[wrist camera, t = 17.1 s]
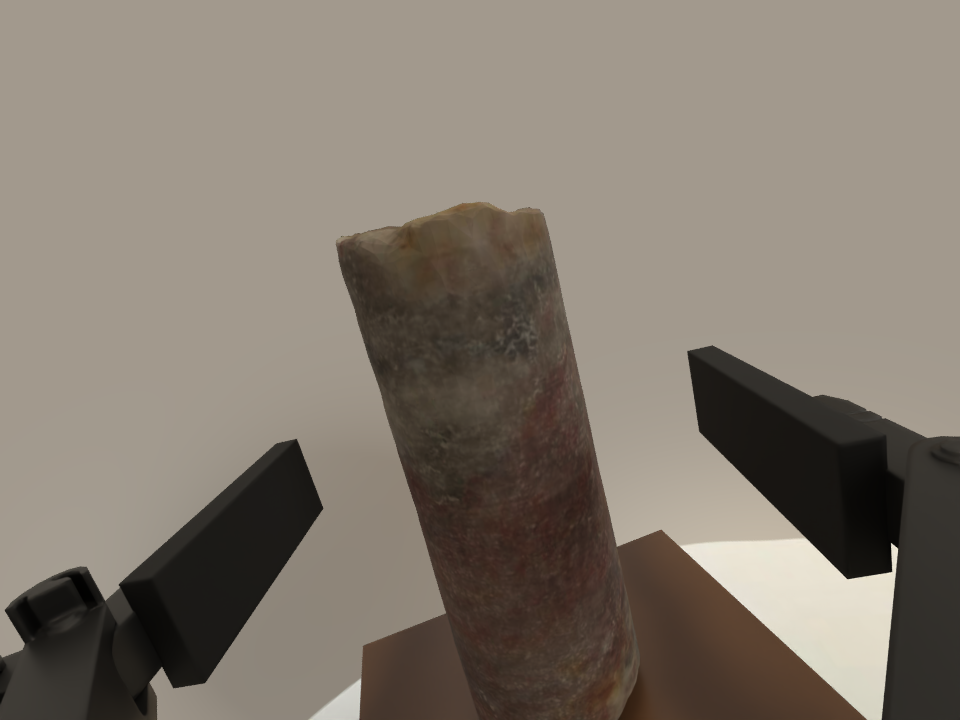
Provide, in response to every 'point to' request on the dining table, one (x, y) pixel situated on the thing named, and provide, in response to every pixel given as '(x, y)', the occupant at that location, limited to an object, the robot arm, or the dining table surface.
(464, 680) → the shelf
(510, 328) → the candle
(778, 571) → the dining table surface
